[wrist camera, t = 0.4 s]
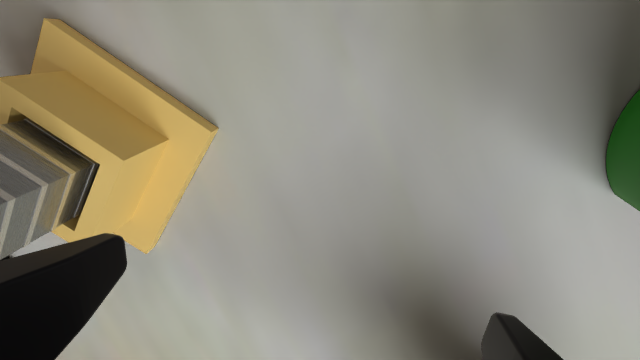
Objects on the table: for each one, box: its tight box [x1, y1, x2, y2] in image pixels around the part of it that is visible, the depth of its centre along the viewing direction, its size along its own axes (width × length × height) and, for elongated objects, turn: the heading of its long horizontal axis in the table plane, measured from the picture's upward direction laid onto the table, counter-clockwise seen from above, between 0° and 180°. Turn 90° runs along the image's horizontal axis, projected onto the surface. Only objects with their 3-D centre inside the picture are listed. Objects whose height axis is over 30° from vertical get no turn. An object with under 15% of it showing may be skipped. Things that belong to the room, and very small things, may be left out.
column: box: [0, 118, 100, 260], centre depth 16 cm, size 4×4×12 cm
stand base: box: [0, 18, 219, 254], centre depth 20 cm, size 11×11×5 cm
